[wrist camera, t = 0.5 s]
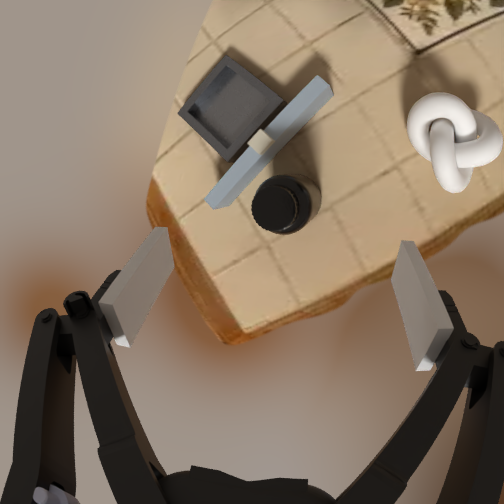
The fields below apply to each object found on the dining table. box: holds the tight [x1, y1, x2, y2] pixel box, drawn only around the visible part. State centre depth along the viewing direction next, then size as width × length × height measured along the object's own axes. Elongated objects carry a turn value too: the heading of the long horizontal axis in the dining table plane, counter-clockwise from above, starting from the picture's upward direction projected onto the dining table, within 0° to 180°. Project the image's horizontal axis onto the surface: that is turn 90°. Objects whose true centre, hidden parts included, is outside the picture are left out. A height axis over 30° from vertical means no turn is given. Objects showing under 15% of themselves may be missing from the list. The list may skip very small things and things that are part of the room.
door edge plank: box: [204, 75, 334, 210], centre depth 39 cm, size 22×2×6 cm, turn 136°
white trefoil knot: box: [407, 92, 503, 193], centre depth 29 cm, size 11×12×9 cm
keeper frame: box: [178, 55, 288, 163], centre depth 41 cm, size 12×12×2 cm
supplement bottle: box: [251, 174, 321, 235], centre depth 37 cm, size 7×7×12 cm
